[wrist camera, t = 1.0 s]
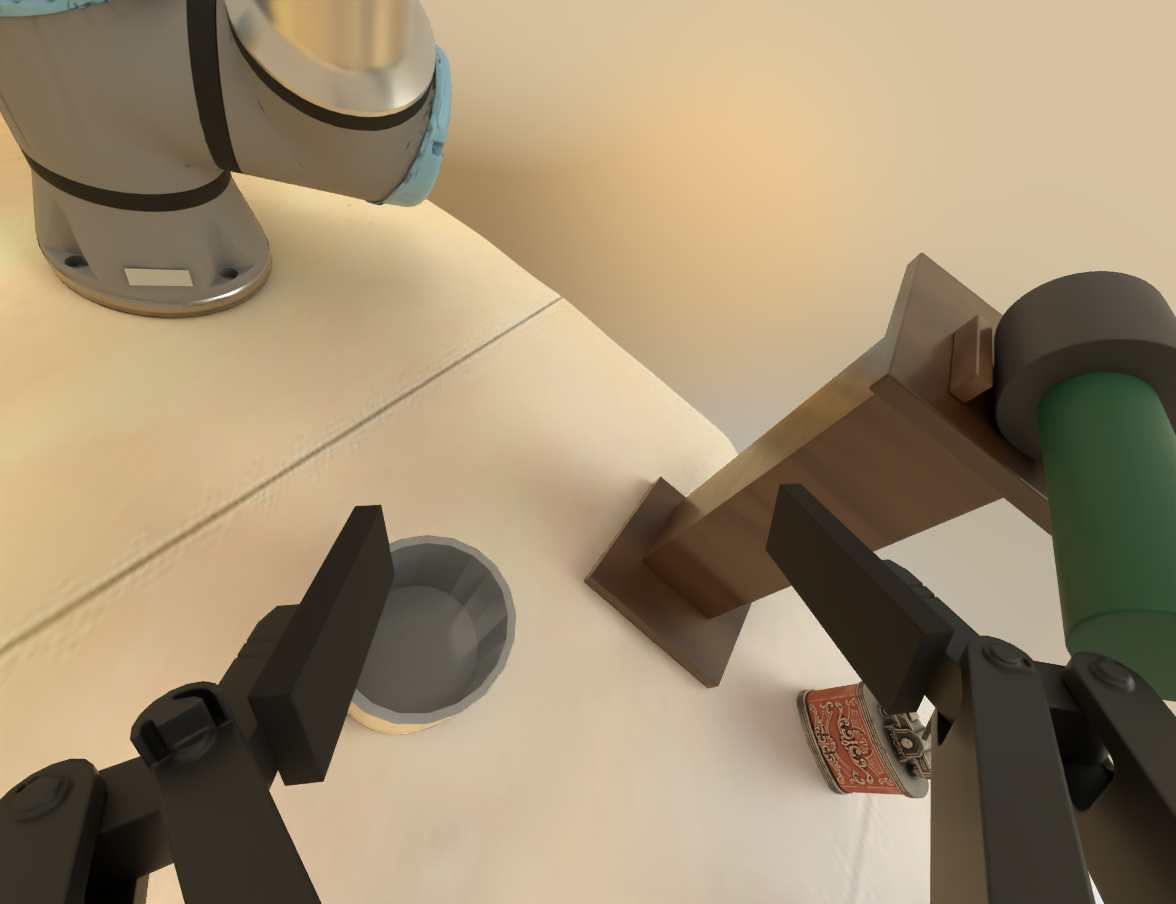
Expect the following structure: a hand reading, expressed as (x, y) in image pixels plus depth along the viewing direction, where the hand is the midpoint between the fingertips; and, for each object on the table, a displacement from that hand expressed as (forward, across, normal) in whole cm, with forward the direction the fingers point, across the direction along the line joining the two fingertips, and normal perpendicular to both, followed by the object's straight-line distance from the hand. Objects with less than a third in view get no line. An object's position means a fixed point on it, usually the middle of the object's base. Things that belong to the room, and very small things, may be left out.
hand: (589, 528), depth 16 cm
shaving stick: (0, +16, +1) cm, 16 cm away
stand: (+22, +12, -21) cm, 33 cm away
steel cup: (+13, -11, -19) cm, 25 cm away
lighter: (+11, +23, -32) cm, 41 cm away
